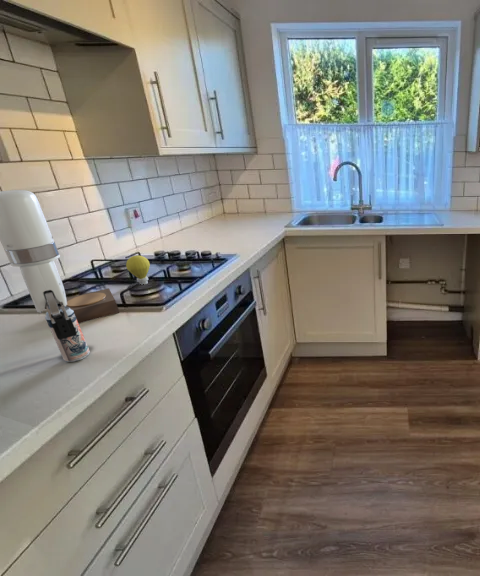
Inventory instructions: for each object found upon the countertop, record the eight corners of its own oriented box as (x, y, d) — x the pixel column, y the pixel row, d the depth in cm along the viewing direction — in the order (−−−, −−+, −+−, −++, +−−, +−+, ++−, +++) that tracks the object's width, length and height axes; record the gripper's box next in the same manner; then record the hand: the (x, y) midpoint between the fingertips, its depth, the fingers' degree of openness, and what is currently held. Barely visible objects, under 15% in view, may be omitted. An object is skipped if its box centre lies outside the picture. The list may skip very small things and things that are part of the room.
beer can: (73, 365, 80) (52, 316, 75) (59, 361, 81) (37, 314, 76) (95, 353, 84) (77, 307, 79) (81, 350, 85) (62, 304, 81)
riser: (66, 326, 96) (60, 312, 95) (63, 312, 105) (57, 299, 103) (119, 312, 104) (114, 298, 102) (113, 300, 112) (108, 287, 110)
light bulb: (159, 280, 127) (151, 253, 123) (144, 287, 121) (135, 259, 117) (143, 279, 128) (135, 252, 124) (127, 286, 122) (118, 258, 118)
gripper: (10, 249, 76) (44, 324, 83) (5, 268, 65) (45, 354, 72) (55, 242, 81) (84, 314, 88) (59, 258, 69) (92, 340, 76)
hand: (66, 331), depth 80 cm, fingers closed on beer can, 4 cm apart
